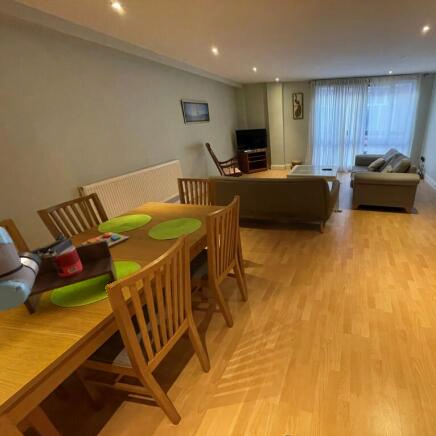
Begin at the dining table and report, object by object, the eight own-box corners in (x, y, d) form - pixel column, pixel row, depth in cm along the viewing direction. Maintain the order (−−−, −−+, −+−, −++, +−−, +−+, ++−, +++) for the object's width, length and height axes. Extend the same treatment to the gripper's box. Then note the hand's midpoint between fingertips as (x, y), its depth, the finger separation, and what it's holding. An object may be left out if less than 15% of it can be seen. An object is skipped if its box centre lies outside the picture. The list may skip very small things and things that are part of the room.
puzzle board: (102, 251, 136) (100, 246, 135) (80, 246, 142) (78, 241, 141) (130, 238, 152) (129, 233, 150) (109, 234, 157) (107, 229, 156)
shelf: (29, 314, 92) (9, 277, 85) (38, 292, 104) (21, 258, 97) (117, 286, 107) (106, 253, 100) (116, 270, 119) (106, 239, 112)
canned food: (87, 266, 106) (78, 244, 102) (75, 277, 99) (65, 253, 95) (67, 268, 105) (58, 246, 101) (54, 279, 98) (43, 255, 93)
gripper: (-44, 298, 61) (-14, 262, 77) (81, 265, 75) (85, 240, 91) (-60, 273, 58) (-26, 241, 74) (73, 244, 72) (78, 222, 88)
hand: (35, 240), depth 82 cm, fingers open, 13 cm apart
